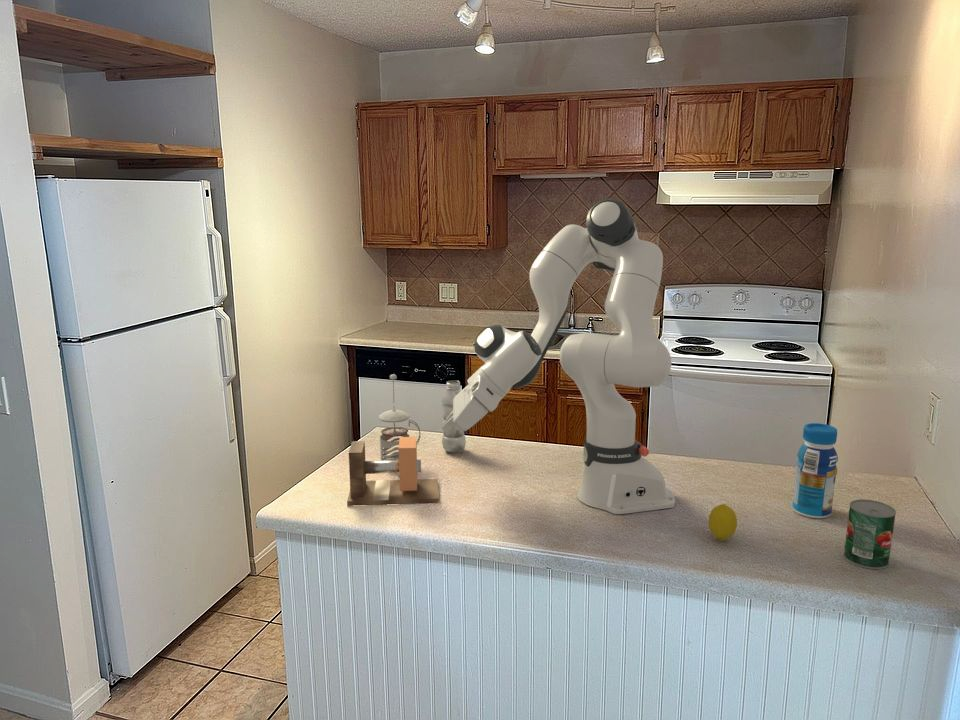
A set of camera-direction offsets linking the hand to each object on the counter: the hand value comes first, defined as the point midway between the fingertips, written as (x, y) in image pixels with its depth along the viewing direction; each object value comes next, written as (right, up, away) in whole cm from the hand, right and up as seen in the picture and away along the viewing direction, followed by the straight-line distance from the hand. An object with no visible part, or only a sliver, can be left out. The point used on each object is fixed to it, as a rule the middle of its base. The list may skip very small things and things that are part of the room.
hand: (443, 428), depth 170 cm
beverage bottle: (+84, -18, -8) cm, 86 cm away
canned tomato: (+84, -23, -30) cm, 92 cm away
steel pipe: (-13, -11, 0) cm, 17 cm away
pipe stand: (-12, -16, +1) cm, 20 cm away
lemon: (+59, -21, -22) cm, 66 cm away
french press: (-13, -12, +20) cm, 26 cm away
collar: (-8, -13, +1) cm, 16 cm away
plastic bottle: (+1, -9, +31) cm, 32 cm away
